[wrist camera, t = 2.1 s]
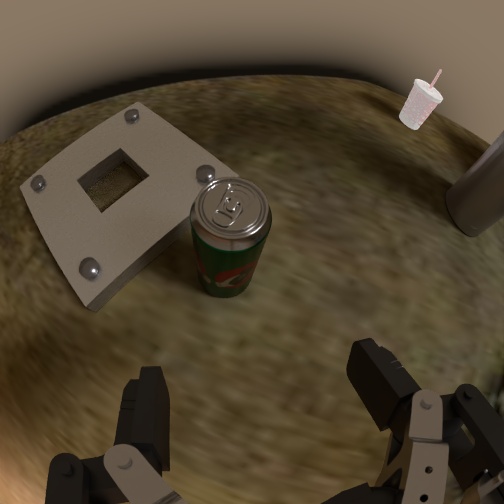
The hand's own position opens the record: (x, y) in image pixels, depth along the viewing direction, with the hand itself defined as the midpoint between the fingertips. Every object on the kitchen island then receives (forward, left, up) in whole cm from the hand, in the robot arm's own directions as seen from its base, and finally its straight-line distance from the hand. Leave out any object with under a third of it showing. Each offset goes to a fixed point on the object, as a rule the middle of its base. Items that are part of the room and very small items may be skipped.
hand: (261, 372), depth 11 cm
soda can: (-6, -7, -14) cm, 17 cm away
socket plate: (-4, -23, -14) cm, 27 cm away
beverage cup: (-52, -4, -14) cm, 54 cm away
